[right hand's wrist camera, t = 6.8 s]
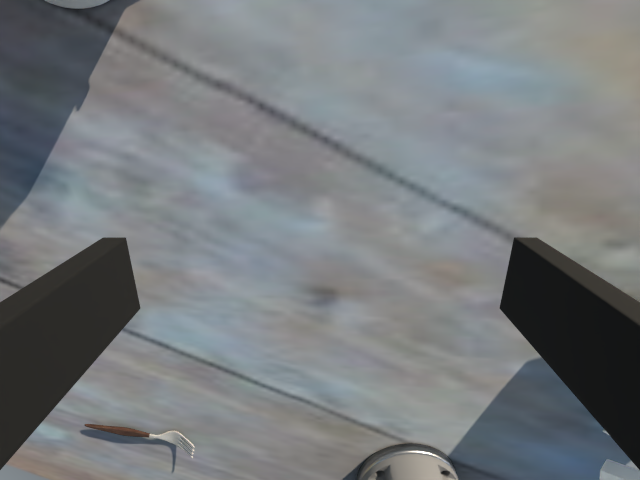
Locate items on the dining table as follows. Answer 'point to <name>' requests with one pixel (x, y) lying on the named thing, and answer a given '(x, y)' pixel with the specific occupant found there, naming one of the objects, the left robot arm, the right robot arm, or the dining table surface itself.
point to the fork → (148, 435)
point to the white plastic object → (618, 470)
